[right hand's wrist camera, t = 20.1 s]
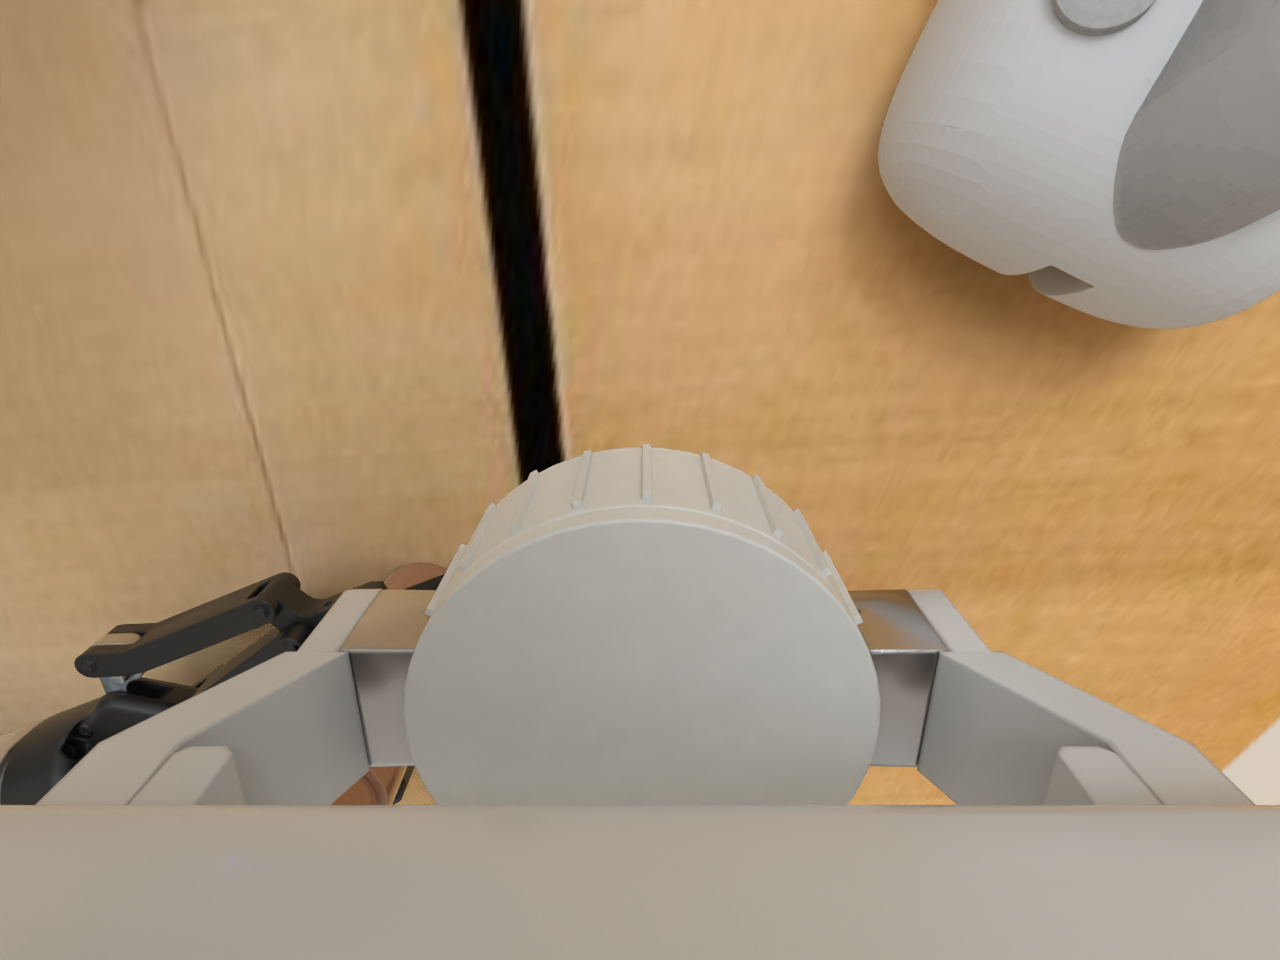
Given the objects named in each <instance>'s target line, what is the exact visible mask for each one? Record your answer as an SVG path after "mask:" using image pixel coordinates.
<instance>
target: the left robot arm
mask: <svg viewBox="0 0 1280 960" xmlns="http://www.w3.org/2000/svg"><path fill="white" fill-rule="evenodd" d="M444 575H445V574H443V575H440V576H437V577H435V578H432V579H429V580H427V581H424V582H421V583H419V584H416V585H414V586H411V587H408V588H406V589H403V590H437V588H438V586H439V584H440V582H441V580H442V579H443V577H444ZM353 589H383V590H385V589H388V588H387V587H386V585H385V583H384V582H383V581H376V582H369V583H366V584H364V585H361V586H358V587H356V588H353ZM341 595H342V593H340V594H338V595H335V596H332V597H330V598H327V599H314V598H312V597H310V596H308V595H307V594H305V593H304V592H303V591H302V590H300V582H299V579H298V578H297V577H296V576H295V575H293V574H291V573H286V572H284V573H279V574H277V575H274V576H272V577H270V578H267V579H265V580H262V581H260V582H257V583H255V584H252V585H250V586H247V587H245V588H242V589H240V590H237V591H235V592H232V593H230V594H227V595H225V596H222V597H220V598H218V599H215V600H213V601H210V602H208V603H205V604H203V605H200V606H198V607H195V608H193V609H190V610H188V611H185V612H183V613H180V614H178V615H175V616H173V617H170V618H168V619H166V620H163V621H161V622H158V623H146V624H124V625H118V626H116V627H115V628H114V629H112V630H111V631H110V632H109V633H107V634H106V635H105V636H103V637H102V638H101V639H100V640H98V641H97V642H96V643H95V644H93V645H92V646H91V647H90V648H89V649H88V650H86V651H85V652H84V653H83V654H81V655H80V656H79V657H78V658H76V660H75V667H76V669H77V670H78V672H80V673H81V674H82V675H84V676H87V677H92V678H96V677H99V678H100V680H101V683H102V685H103V687H104V690H105V692H106V695H104V696H102V697H101V698H98V699H95V700H93V701H90V702H87V703H85V704H82V705H79V706H77V707H74V708H72V709H69V710H66V711H64V712H61V713H58V714H56V715H54V716H52V717H49V718H47V719H46V720H41V721H39V722H36V723H33V724H31V725H28V726H25V727H23V728H20V729H17V730H15V731H12V732H10V733H7V734H4V735H2V736H0V805H36V804H37V803H38V802H39V801H40V800H41V799H42V798H43V797H44V796H45V795H46V794H47V793H48V792H49V791H50V790H51V789H52V788H53V787H54V786H55V785H56V784H57V783H58V782H59V781H60V780H61V779H62V778H63V777H64V776H65V775H66V774H67V773H68V772H69V771H70V770H71V769H72V768H73V767H74V766H75V765H76V764H77V763H78V762H80V761H81V760H82V759H83V758H84V757H85V756H86V755H87V754H88V753H89V752H90V751H91V750H92V749H93V748H94V747H95V746H96V745H97V744H98V743H99V742H101V741H103V740H105V739H108V738H110V737H112V736H114V735H116V734H118V733H120V732H122V731H124V730H126V729H128V728H130V727H132V726H134V725H136V724H138V723H140V722H142V721H144V720H146V719H149V718H151V717H153V716H155V715H157V714H159V713H161V712H163V711H165V710H167V709H169V708H171V707H173V706H175V705H177V704H179V703H181V702H183V701H185V700H188V699H190V698H192V697H194V696H196V695H198V694H200V693H202V692H204V691H206V690H208V689H210V688H212V687H214V686H216V685H218V684H220V683H222V682H224V681H226V680H229V679H231V678H233V677H235V676H237V675H239V674H241V673H243V672H245V671H247V670H249V669H251V668H253V667H255V666H257V665H259V664H261V663H263V662H265V661H267V660H270V659H272V658H274V657H276V656H278V655H280V654H282V653H284V652H297V651H298V649H299V648H300V647H301V645H302V644H303V643H304V642H305V640H306V639H307V638H308V637H309V635H310V634H311V633H312V631H313V630H314V629H315V628H316V626H317V625H318V624H319V623H320V621H321V620H322V619H323V617H324V616H325V615H326V614H327V612H328V611H329V610H330V609H331V607H332V606H333V605H334V604H335V602H336V601H337V600H338V598H339V597H340V596H341ZM268 623H271V624H272V625H274V626H275V628H274V629H273V630H271V631H270V632H269V633H267V634H266V635H264V636H263V637H262V638H260V639H259V640H258V641H256V642H255V643H254V644H252V645H251V646H250V647H248V648H247V649H246V650H244V651H243V652H241V653H240V654H239V655H237V656H236V657H235V658H233V659H232V660H231V661H229V662H228V663H227V664H225V665H221V666H220V667H218V668H217V669H216V670H214V671H213V672H212V673H210V674H209V675H208V676H206V677H205V678H203V679H202V680H201V681H199V682H198V683H197V684H195V685H194V686H193V687H191V686H186V685H181V684H175V683H170V682H164V681H159V680H154V679H148V678H143V677H141V676H142V675H143V674H144V673H145V672H146V671H148V670H151V669H153V668H156V667H158V666H161V665H164V664H166V663H169V662H171V661H174V660H176V659H179V658H181V657H184V656H186V655H189V654H192V653H194V652H197V651H199V650H202V649H204V648H207V647H209V646H212V645H214V644H217V643H220V642H222V641H225V640H227V639H230V638H232V637H235V636H237V635H240V634H242V633H245V632H247V631H250V630H253V629H255V628H258V627H260V626H263V625H265V624H268ZM414 767H415V766H407V769H406V771H405V774H404V776H403V779H402V781H401V784H400V786H399V789H398V791H397V794H396V796H395V799H394V801H393V804H396V803H398V802H399V801H400V800H401V799H402V797H403V794H404V792H405V789H406V787H407V784H408V782H409V779H410V777H411V774H412V772H413V769H414Z"/></svg>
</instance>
